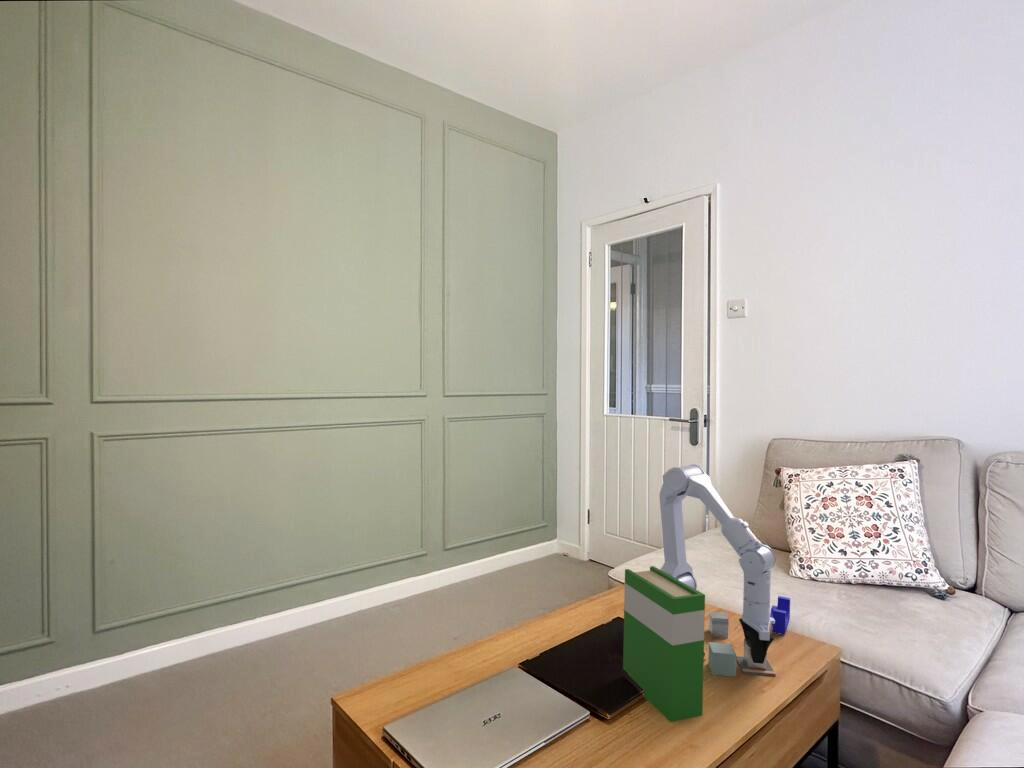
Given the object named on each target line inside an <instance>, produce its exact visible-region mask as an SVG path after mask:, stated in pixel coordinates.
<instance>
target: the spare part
mask: <svg viewBox="0 0 1024 768" xmlns="http://www.w3.org/2000/svg"><path fill="white" fill-rule="evenodd" d="M767 656H768V652H767V653H766V656H765V660H764V663H763V664H760V663H754V662H753V659H752V653H751V645H750V641H749V639H745V638H743V657H744V662H745V664H746V666H747V668H750V669H761V670H766V662H767V660H768V659H767Z"/></svg>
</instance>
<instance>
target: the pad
mask: <svg viewBox="0 0 1024 768" xmlns="http://www.w3.org/2000/svg"><path fill="white" fill-rule="evenodd" d="M736 659H737V660H736V663H737V664H738V666H739V668H740V670H741V672H742V673H743V674H751V675H763V676H770V677H771V676H772V677H776V672H775V671H774V669H773V667H772V665H771V663H770V662H769V660H768V659H767V662H766V670H761V669H750V668H747V666H746V664H745V662H744V656H738V655H736Z"/></svg>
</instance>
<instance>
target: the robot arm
mask: <svg viewBox="0 0 1024 768" xmlns="http://www.w3.org/2000/svg"><path fill="white" fill-rule="evenodd" d="M658 497H659V504H660V505H659V506H660V507H659V508H660V517H661V518H660V519H661V520H660V521H661V531H662V544H663V558H664V563H663V564H662V566H661V567H660V570H661V571H663V572H665V573H667V574H669V575H670V576H672V577H674V578H676V579H678V580H679V581H681V582H683V583H685V584H687V585H688V586H690V587H692V588H694V589H696V590H697V588H698V582H697V579H696V577H695V576H694V572H693V567H692V565H690V564H689V563H688V562H687V553H686V541H685V529H684V528H685V527H684V518H683V517H684V516H683V515H684V514H683V505H682V502H683V500H684V499H685V498H686V497H691V498H695V499H699V500H700V501H701V502H702V504H703V505H704V506H705V508H707V509H708V511H710V513H711V514H712V515H713V517H714V518H715V519H716V520H717V521H718V522H719V523H720V525H721V530H720V531H721V533H722V535H723V536H724V537H725V540H726V541H727V542H728V543H729V544H730V546H731V547H732V548H733V550H734V551H735V553H736V554H737V555H738V556H739V558H738V562H739V563H738V564H739V566H740V568H741V570H742V571H743V597H742V600H743V601H742V602H743V604H742V614H741V617H740V618H739V623H740V625H741V627H742V631H743V634H744V639H749V641H750V645H751V653H752V659H753V662H754V663H760V664H763V663H764V660H765V656H766V653H767V654H768V651H769V647H770V645H771V644H772V643H773V641H774V639H775V637H774V636H775V635H773V633H770V627H771V625H773V624H775V620H774V618H772V617H770V614H771V586H772V585H771V576H772V574H771V573H772V570H771V569H772V568H774V566H775V565H776V561H777V560H776V556H775V553H774V551H773V549H772V548H771V547H770V546H768V545H767V544H763V542H762V541H761V540H759V539H758V538H757V537H756V536H755V535H754V533H753V532H752V531H751V529H750V528H749V526H750V525H749V523H748V522H747V521H743V519H742V518H739V517H735V516H734V515H733V514H732V512H731V511H730V510H729V508H728V506H727V505H726V503H725V502H724V501H723V499H722V498H721V496H720V494H719V493H718V492H717V490H716V489H715V487H714V486H713V484H712V481H711V478H710V476H709V475H708V474H707V473H706V472H705V470H704V469H703V467H701V466H700V465H698V464H696V463H695V464H688V465H683V466H680V467H676V466H675V467H674V466H673V467H671V468H669V469H668V470H667V471H666V472H664V474H663V475H662V485H661V487H660V491H659V496H658Z"/></svg>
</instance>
